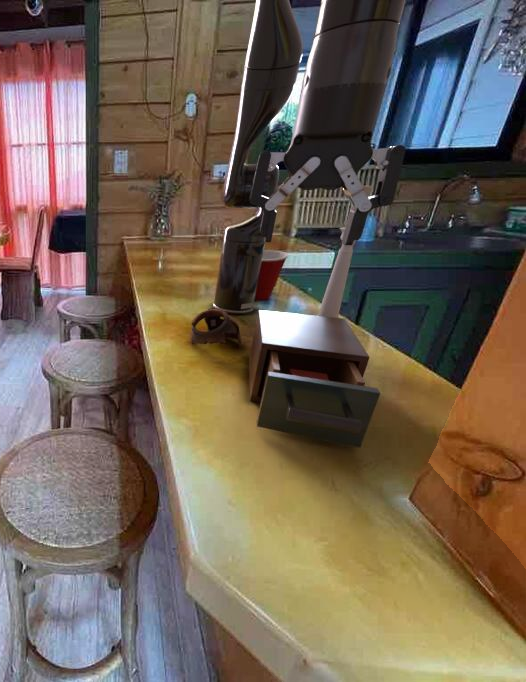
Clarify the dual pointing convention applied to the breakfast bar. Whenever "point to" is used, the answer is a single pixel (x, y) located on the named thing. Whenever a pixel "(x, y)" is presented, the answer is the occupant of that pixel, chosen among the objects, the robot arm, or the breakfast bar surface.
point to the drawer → (315, 398)
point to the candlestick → (338, 277)
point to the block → (308, 374)
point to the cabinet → (301, 342)
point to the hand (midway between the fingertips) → (305, 242)
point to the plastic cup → (269, 273)
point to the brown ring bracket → (215, 327)
